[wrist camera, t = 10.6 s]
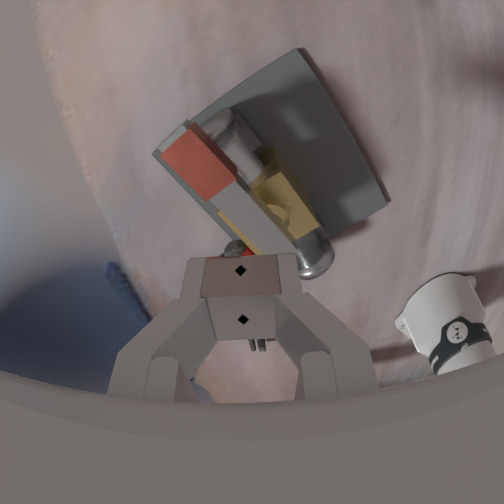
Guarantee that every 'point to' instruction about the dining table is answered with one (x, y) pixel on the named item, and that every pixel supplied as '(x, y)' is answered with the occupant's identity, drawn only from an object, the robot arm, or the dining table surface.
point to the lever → (224, 187)
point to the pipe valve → (272, 190)
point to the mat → (300, 142)
